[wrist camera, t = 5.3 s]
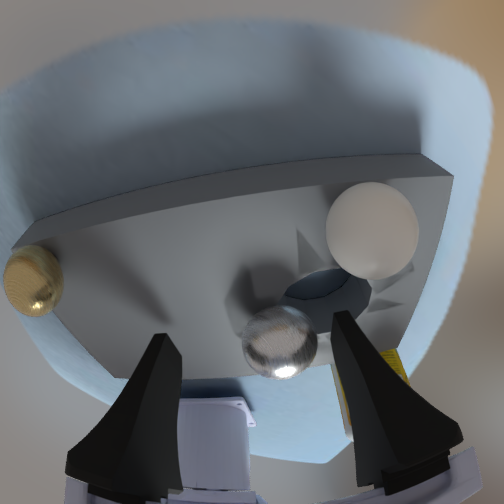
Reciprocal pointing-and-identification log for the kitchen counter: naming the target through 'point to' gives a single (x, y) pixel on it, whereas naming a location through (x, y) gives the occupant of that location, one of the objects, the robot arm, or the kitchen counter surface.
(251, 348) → the steel ball
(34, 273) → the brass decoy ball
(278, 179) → the plate
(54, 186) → the kitchen counter surface
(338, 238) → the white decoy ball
